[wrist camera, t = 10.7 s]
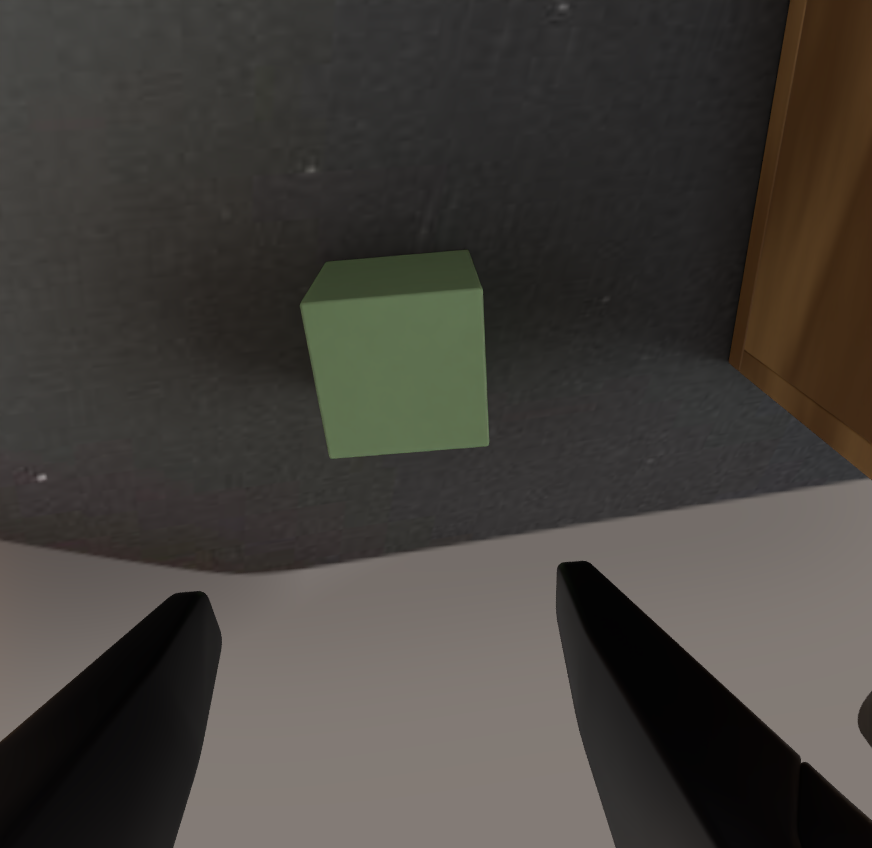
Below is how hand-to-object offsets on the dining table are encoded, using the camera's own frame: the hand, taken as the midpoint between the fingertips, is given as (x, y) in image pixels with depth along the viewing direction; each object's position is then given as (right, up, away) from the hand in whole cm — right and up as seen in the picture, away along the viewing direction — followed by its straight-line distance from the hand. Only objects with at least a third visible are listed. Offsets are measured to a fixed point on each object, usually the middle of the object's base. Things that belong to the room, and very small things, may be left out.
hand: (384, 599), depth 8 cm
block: (0, +6, +11) cm, 12 cm away
